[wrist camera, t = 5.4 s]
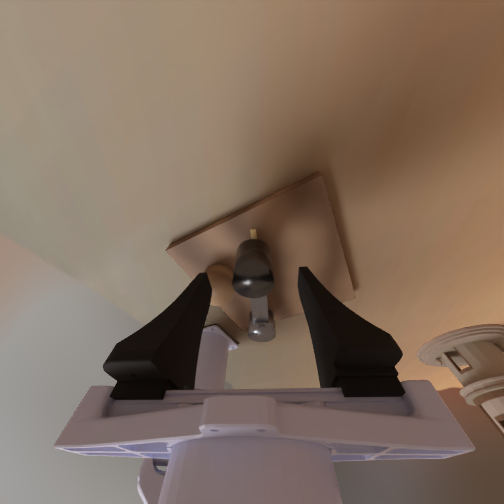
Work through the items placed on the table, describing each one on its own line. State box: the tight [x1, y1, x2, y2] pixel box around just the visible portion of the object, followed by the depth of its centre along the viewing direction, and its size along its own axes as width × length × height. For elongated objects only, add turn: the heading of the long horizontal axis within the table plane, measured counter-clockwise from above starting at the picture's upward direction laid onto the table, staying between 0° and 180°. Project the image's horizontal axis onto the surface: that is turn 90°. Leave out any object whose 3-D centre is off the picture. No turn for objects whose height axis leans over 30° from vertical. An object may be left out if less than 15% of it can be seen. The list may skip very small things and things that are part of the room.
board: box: [165, 172, 356, 330], centre depth 23 cm, size 18×18×1 cm
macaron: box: [205, 264, 234, 306], centre depth 21 cm, size 4×4×3 cm
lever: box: [232, 239, 276, 342], centre depth 20 cm, size 16×4×6 cm, turn 5°
